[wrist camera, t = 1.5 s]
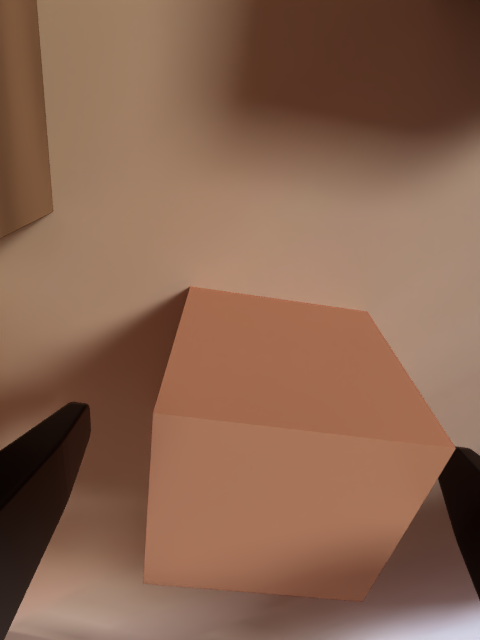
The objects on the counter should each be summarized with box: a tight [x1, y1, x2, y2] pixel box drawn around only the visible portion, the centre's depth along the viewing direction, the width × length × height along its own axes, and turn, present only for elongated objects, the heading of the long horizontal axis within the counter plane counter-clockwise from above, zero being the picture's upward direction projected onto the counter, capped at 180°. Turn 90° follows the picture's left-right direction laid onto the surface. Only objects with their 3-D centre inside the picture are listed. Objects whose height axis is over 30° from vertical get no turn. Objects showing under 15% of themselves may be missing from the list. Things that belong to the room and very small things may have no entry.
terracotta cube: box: [143, 287, 456, 602], centre depth 9 cm, size 5×5×5 cm
